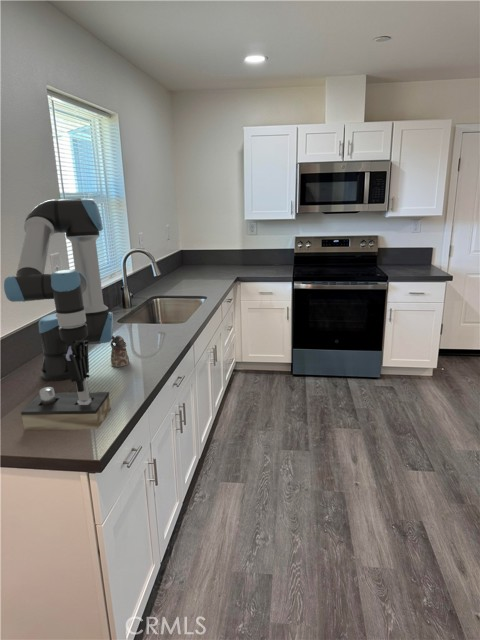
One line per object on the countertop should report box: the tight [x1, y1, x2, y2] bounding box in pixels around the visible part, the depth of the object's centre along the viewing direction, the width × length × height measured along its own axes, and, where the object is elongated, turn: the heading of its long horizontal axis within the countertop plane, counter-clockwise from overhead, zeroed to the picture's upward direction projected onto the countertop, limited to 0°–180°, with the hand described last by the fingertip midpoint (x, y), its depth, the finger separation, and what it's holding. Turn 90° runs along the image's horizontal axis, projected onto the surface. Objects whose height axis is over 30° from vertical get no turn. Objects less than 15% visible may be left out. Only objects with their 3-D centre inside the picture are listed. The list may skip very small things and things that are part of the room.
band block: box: [20, 391, 112, 431], centre depth 131 cm, size 12×22×6 cm, turn 88°
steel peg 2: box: [77, 397, 92, 405], centre depth 130 cm, size 4×4×6 cm
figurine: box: [110, 334, 130, 368], centre depth 172 cm, size 7×7×12 cm
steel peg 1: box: [39, 386, 56, 406], centre depth 130 cm, size 4×4×6 cm
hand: (84, 399), depth 129 cm, fingers closed
